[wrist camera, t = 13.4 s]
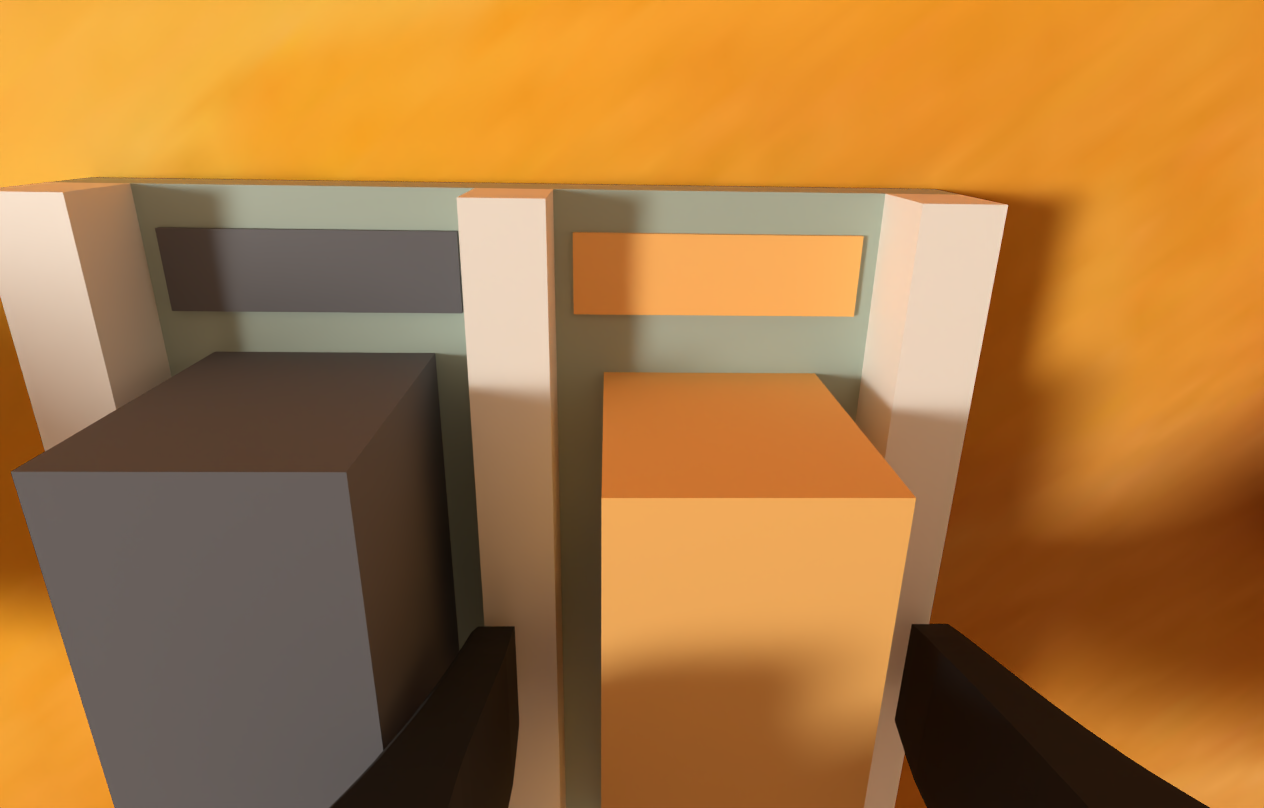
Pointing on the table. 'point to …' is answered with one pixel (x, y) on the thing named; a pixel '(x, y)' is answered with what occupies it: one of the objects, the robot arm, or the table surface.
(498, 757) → the robot arm
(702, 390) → the wooden block
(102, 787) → the table surface
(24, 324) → the comb board
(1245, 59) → the table surface
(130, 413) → the dark grey block
